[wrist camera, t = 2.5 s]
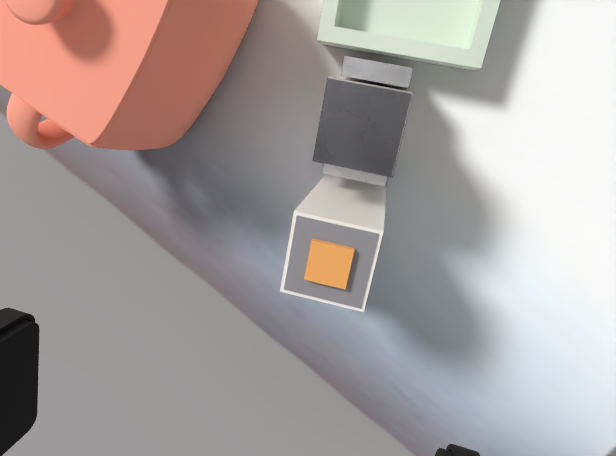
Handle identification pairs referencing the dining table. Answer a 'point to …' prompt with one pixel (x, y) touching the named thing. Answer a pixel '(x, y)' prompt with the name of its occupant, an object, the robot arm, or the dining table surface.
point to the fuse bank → (363, 121)
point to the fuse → (335, 242)
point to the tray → (412, 29)
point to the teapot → (115, 67)
